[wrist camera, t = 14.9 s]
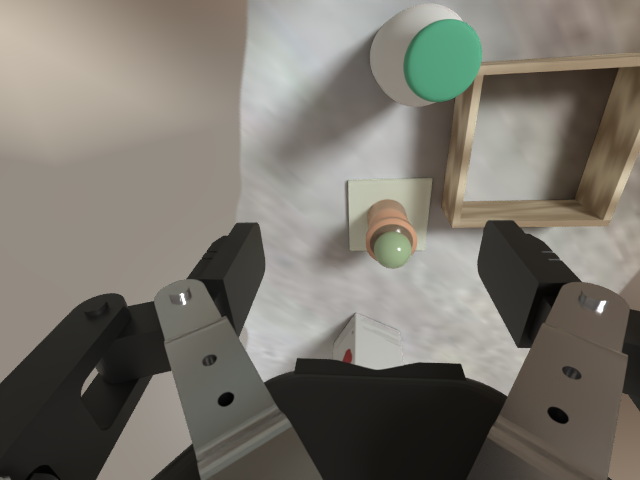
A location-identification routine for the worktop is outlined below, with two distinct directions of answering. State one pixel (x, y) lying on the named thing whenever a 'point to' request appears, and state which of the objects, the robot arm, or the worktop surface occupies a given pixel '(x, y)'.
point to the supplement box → (369, 344)
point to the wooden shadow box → (602, 166)
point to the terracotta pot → (390, 234)
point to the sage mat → (404, 191)
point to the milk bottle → (425, 55)
